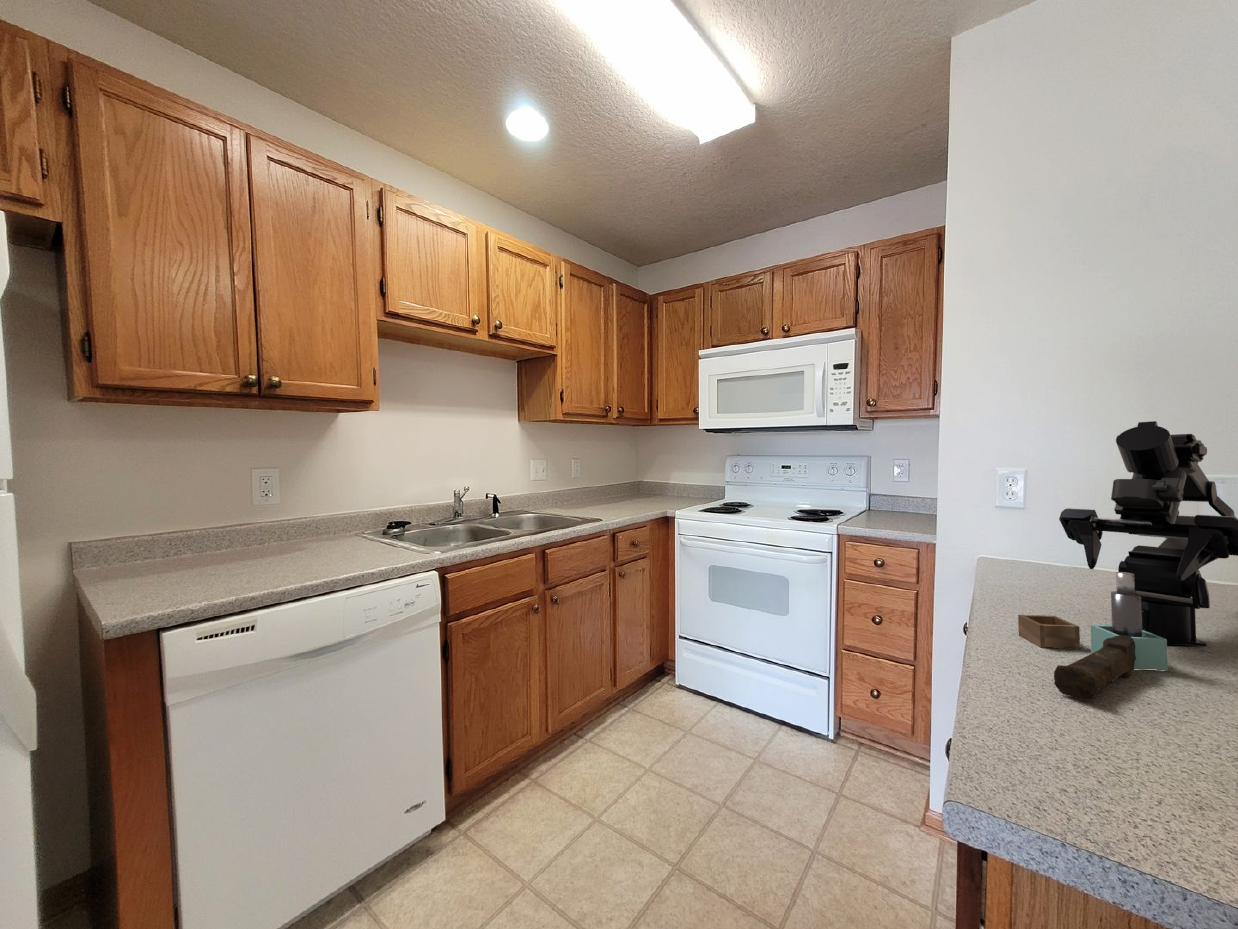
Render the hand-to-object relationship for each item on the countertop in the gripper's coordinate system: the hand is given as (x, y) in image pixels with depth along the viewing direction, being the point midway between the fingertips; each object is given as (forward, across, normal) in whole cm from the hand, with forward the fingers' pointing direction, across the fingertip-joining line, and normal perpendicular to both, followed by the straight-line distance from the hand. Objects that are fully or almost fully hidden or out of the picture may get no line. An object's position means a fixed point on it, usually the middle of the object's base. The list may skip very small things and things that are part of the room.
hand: (1132, 573), depth 70 cm
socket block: (+11, -9, +7) cm, 16 cm away
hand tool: (+19, 0, -1) cm, 19 cm away
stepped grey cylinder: (+11, 0, +7) cm, 13 cm away
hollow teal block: (+11, 0, +7) cm, 13 cm away
